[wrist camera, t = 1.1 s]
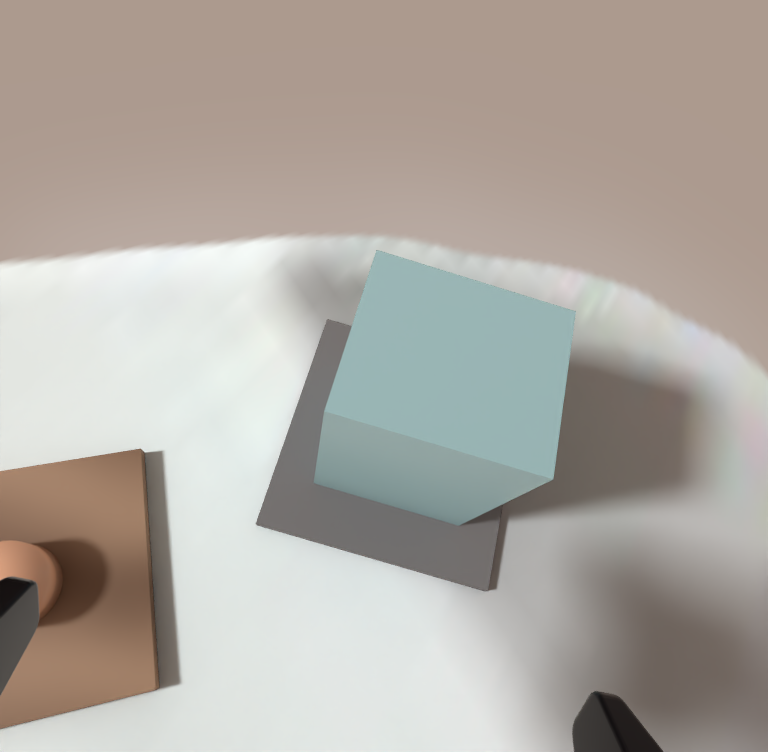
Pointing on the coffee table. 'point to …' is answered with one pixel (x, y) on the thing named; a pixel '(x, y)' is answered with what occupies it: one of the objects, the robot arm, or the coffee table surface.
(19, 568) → the peach flattened ellipsoid
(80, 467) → the coaster
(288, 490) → the mat
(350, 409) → the pale teal block
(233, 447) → the coffee table surface
